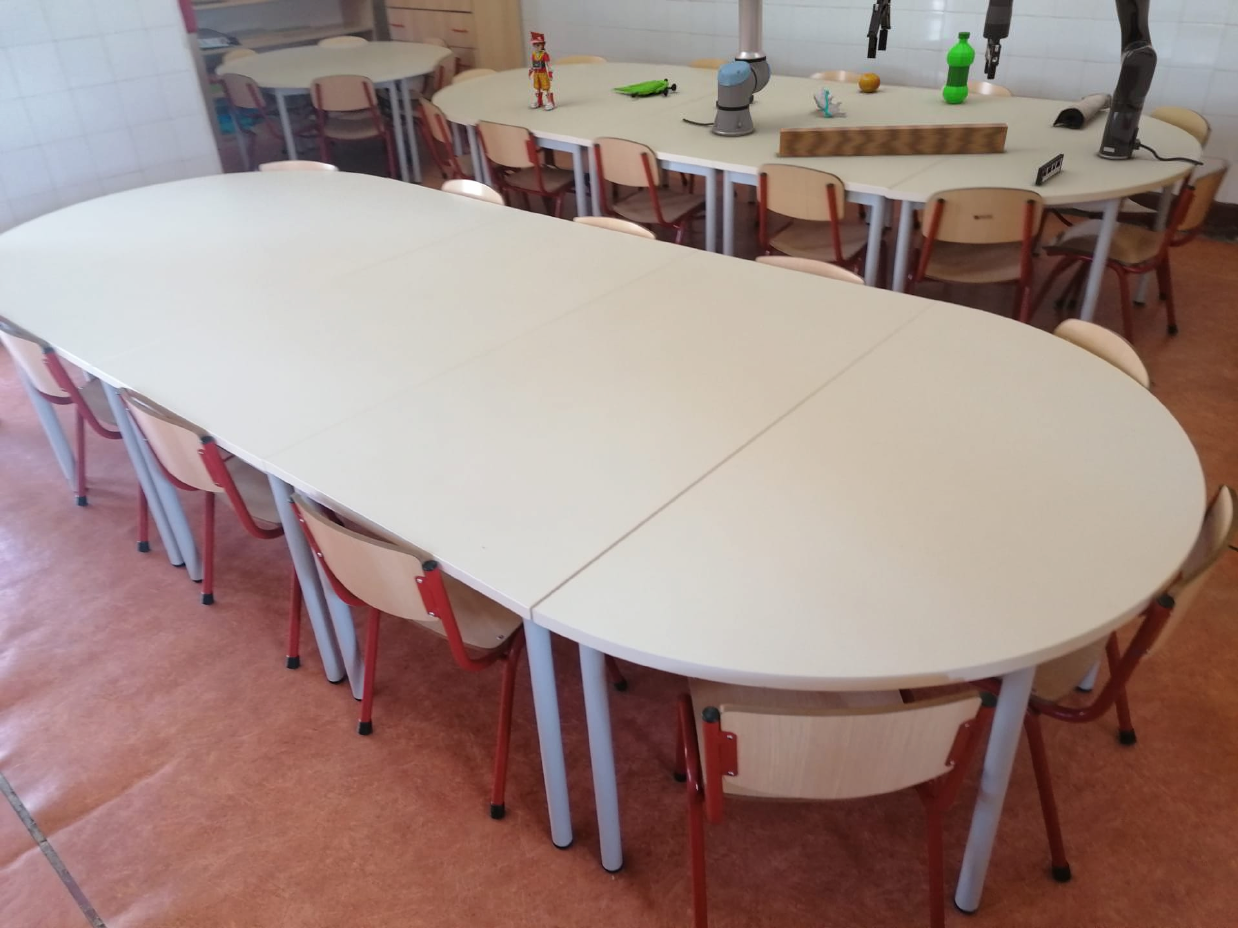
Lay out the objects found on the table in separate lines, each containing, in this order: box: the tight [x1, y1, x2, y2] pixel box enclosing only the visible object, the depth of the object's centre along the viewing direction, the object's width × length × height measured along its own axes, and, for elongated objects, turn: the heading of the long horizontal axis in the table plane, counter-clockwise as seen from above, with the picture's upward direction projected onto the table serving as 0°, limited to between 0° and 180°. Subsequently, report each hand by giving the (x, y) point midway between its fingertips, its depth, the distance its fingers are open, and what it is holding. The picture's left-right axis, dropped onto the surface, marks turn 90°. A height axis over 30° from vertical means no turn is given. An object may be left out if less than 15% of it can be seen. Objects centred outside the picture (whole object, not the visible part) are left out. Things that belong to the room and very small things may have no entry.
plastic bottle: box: [942, 31, 976, 104], centre depth 348 cm, size 10×10×25 cm
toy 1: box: [527, 31, 556, 111], centre depth 374 cm, size 12×9×30 cm
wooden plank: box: [778, 122, 1009, 158], centre depth 302 cm, size 74×4×8 cm, turn 83°
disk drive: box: [715, 94, 755, 108], centre depth 369 cm, size 10×3×15 cm
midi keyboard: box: [1035, 153, 1065, 186], centre depth 273 cm, size 18×1×5 cm, turn 138°
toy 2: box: [612, 78, 677, 99], centre depth 396 cm, size 28×5×30 cm
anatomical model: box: [813, 86, 846, 118], centre depth 348 cm, size 15×10×10 cm
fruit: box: [858, 72, 881, 93], centre depth 374 cm, size 8×8×8 cm
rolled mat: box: [1052, 92, 1113, 129], centre depth 324 cm, size 30×9×10 cm
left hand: (876, 54), depth 308 cm, fingers open, 13 cm apart
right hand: (988, 76), depth 288 cm, fingers open, 8 cm apart
